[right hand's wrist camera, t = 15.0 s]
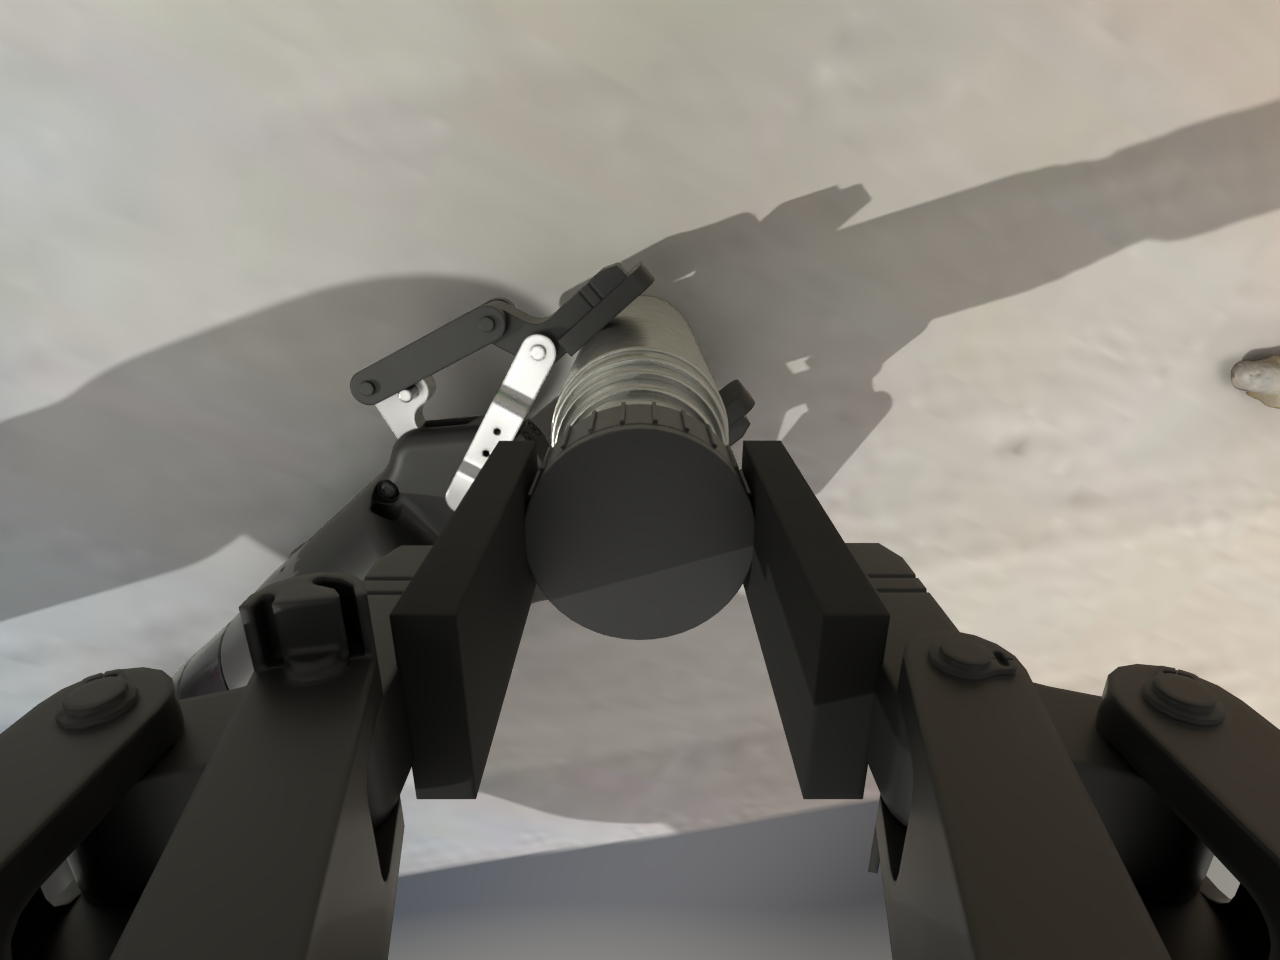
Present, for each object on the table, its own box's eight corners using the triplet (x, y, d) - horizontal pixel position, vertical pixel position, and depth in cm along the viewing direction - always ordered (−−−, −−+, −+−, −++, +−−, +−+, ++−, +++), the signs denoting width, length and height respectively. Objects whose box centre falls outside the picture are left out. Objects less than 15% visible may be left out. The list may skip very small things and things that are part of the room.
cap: (578, 364, 13) (570, 386, 12) (783, 449, 14) (802, 481, 12) (505, 553, 15) (487, 596, 13) (692, 622, 15) (699, 671, 14)
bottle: (666, 275, 29) (705, 361, 12) (711, 376, 31) (805, 582, 13) (565, 325, 30) (464, 475, 13) (615, 421, 32) (585, 672, 14)
